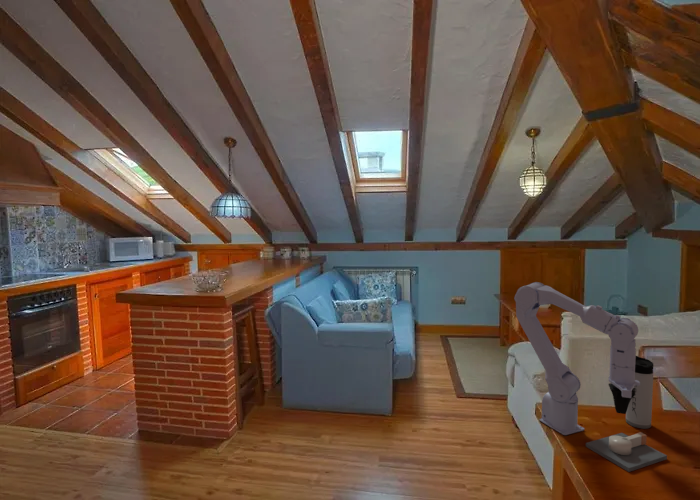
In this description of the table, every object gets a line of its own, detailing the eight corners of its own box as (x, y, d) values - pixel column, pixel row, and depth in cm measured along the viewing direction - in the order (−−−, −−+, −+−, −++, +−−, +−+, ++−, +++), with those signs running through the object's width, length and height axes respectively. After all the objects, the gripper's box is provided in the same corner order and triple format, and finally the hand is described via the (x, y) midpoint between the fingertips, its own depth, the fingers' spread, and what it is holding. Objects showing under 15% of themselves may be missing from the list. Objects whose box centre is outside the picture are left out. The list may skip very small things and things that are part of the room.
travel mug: (642, 418, 126) (644, 355, 124) (656, 429, 119) (658, 363, 117) (620, 417, 126) (622, 355, 125) (633, 428, 120) (635, 363, 118)
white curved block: (622, 456, 104) (622, 447, 104) (604, 446, 109) (604, 437, 109) (652, 447, 108) (653, 438, 108) (633, 437, 113) (634, 429, 112)
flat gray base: (585, 446, 111) (585, 443, 111) (621, 435, 116) (621, 432, 116) (628, 472, 100) (628, 468, 100) (666, 459, 105) (666, 455, 105)
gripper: (646, 376, 101) (644, 428, 103) (634, 357, 114) (632, 403, 116) (613, 372, 104) (611, 422, 105) (605, 354, 117) (603, 399, 119)
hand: (620, 412), depth 111 cm, fingers closed
